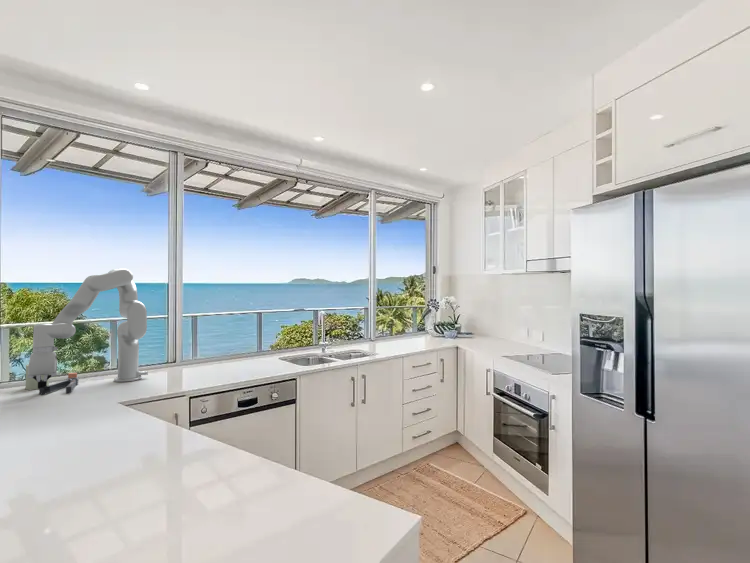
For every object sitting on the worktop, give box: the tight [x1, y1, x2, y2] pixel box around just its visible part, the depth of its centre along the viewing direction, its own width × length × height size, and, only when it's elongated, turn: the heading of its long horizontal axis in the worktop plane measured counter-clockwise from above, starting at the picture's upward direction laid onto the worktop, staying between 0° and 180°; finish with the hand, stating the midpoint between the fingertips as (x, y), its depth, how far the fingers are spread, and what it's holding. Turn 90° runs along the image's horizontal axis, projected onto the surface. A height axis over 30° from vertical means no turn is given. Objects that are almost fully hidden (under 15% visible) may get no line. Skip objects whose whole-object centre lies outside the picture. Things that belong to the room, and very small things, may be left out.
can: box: [24, 363, 50, 391], centre depth 200 cm, size 9×9×12 cm
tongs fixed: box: [65, 376, 79, 394], centre depth 197 cm, size 23×5×3 cm, turn 30°
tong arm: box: [38, 379, 70, 396], centre depth 193 cm, size 18×2×3 cm, turn 4°
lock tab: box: [67, 372, 78, 378], centre depth 206 cm, size 2×3×2 cm
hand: (42, 389), depth 189 cm, fingers closed
